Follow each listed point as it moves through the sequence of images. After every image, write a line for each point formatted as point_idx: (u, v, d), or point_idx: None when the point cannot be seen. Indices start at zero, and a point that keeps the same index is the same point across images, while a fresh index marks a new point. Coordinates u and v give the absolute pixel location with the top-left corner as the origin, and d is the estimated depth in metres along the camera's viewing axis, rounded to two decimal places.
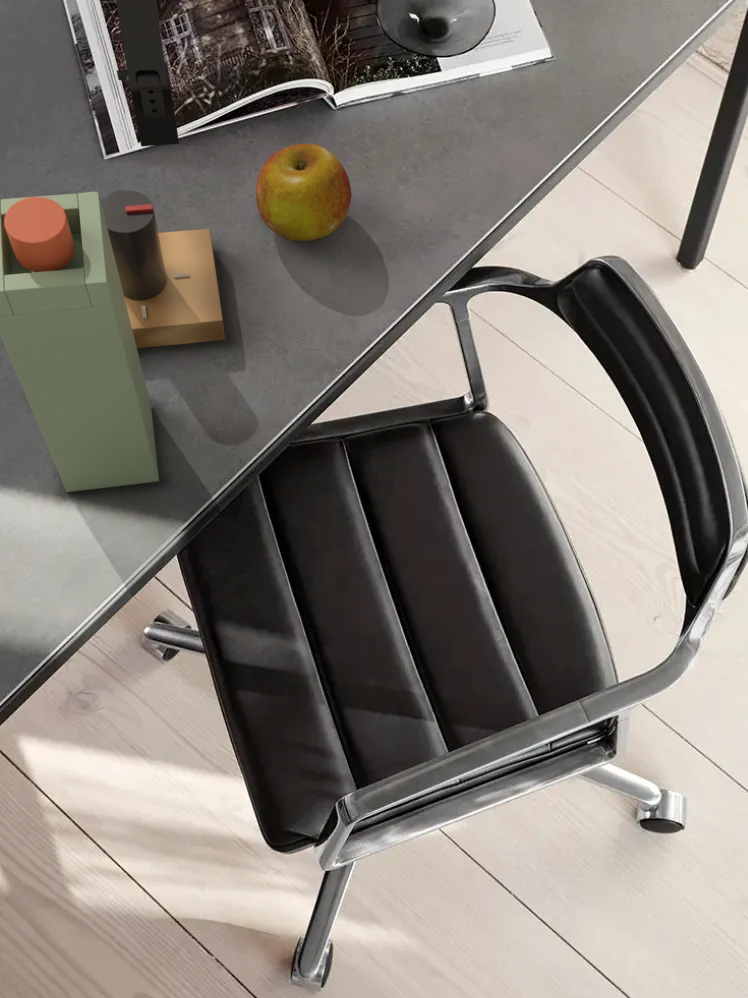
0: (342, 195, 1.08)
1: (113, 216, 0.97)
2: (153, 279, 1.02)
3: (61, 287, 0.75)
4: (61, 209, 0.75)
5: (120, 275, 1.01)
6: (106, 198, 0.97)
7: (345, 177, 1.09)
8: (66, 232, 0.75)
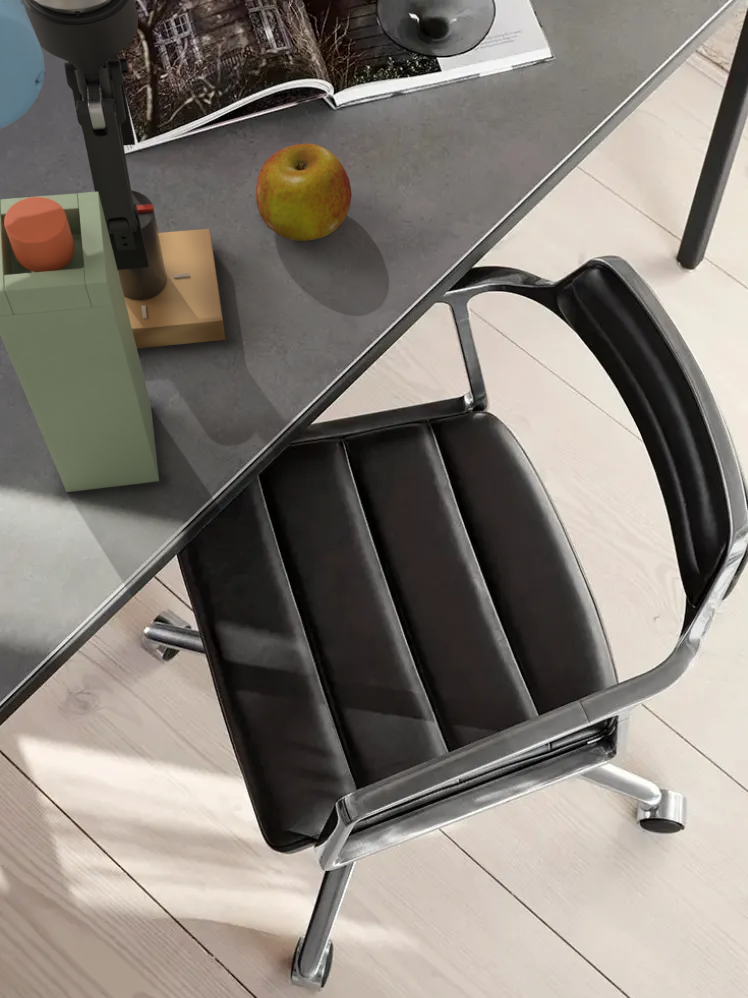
0: (342, 195, 1.08)
1: None
2: (153, 279, 1.02)
3: (61, 287, 0.75)
4: (61, 209, 0.75)
5: (120, 275, 1.01)
6: None
7: (345, 177, 1.09)
8: (66, 232, 0.75)
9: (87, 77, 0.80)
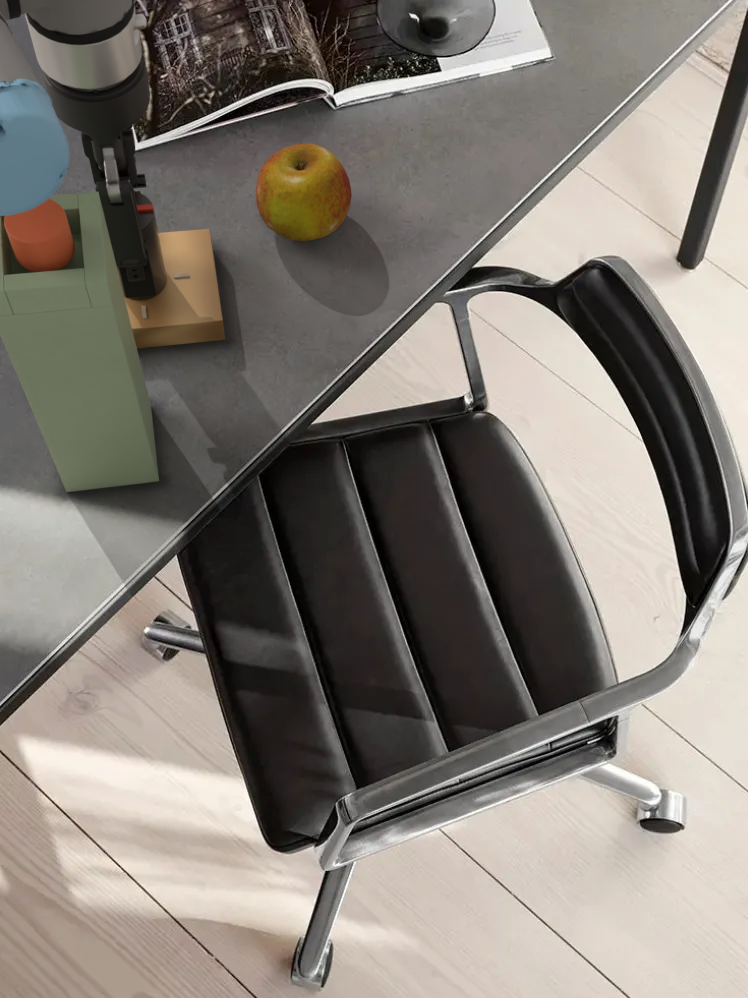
0: (342, 195, 1.08)
1: None
2: None
3: (61, 287, 0.75)
4: (61, 209, 0.75)
5: (120, 275, 1.01)
6: None
7: (345, 177, 1.09)
8: (66, 232, 0.75)
9: (102, 147, 0.86)
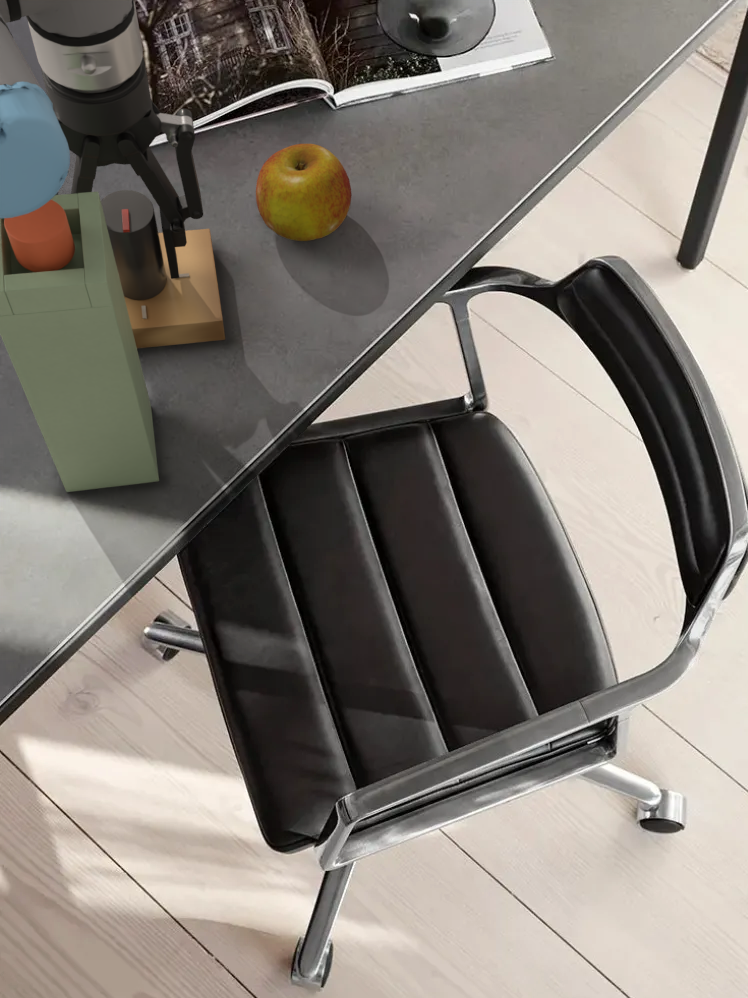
0: (342, 195, 1.08)
1: (118, 202, 0.97)
2: None
3: (61, 287, 0.75)
4: (61, 209, 0.75)
5: None
6: (143, 196, 0.98)
7: (345, 177, 1.09)
8: (66, 232, 0.75)
9: None
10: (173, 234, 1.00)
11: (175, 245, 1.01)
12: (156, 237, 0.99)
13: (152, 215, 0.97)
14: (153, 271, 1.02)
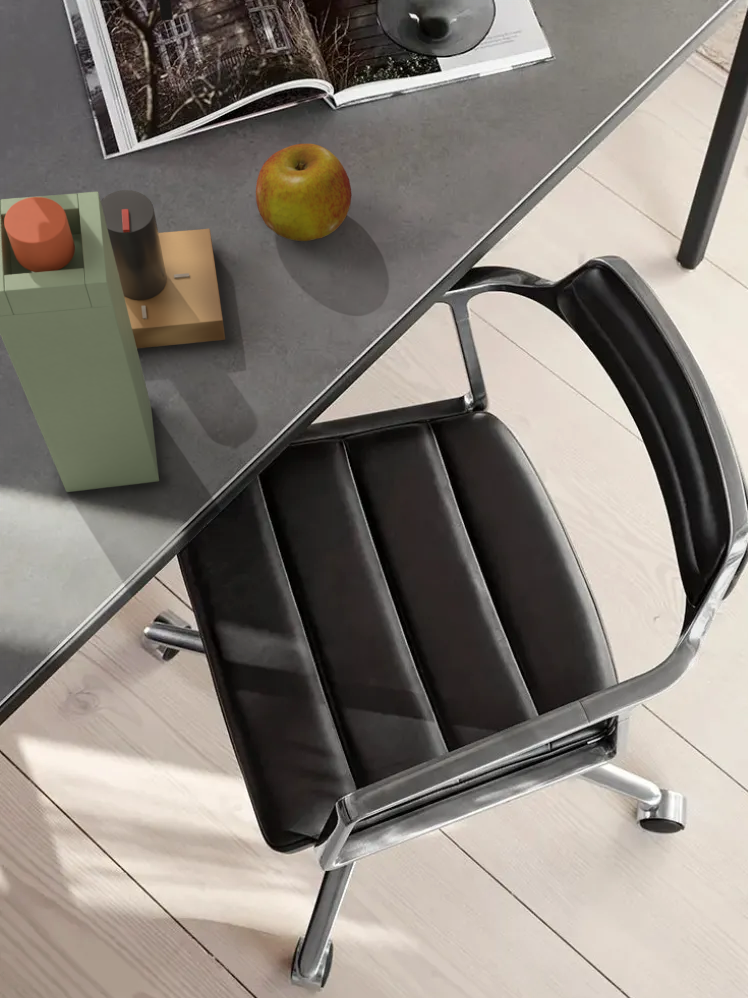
0: (342, 195, 1.08)
1: (118, 202, 0.97)
2: None
3: (61, 287, 0.75)
4: (61, 209, 0.75)
5: None
6: (143, 196, 0.98)
7: (345, 177, 1.09)
8: (66, 232, 0.75)
9: None
10: None
11: None
12: (156, 237, 0.99)
13: (152, 215, 0.97)
14: (153, 271, 1.02)
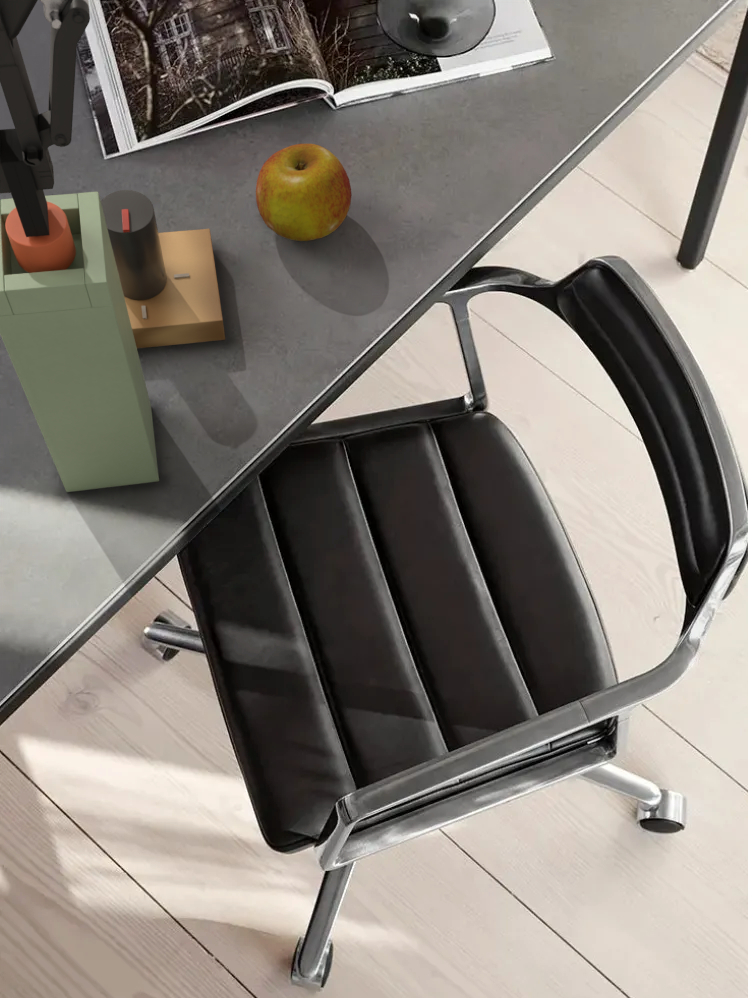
0: (342, 195, 1.08)
1: (118, 202, 0.97)
2: None
3: (61, 287, 0.75)
4: (62, 212, 0.75)
5: None
6: (143, 196, 0.98)
7: (345, 177, 1.09)
8: (67, 236, 0.75)
9: None
10: (32, 170, 0.70)
11: (38, 187, 0.71)
12: (156, 237, 0.99)
13: (152, 215, 0.97)
14: (153, 271, 1.02)
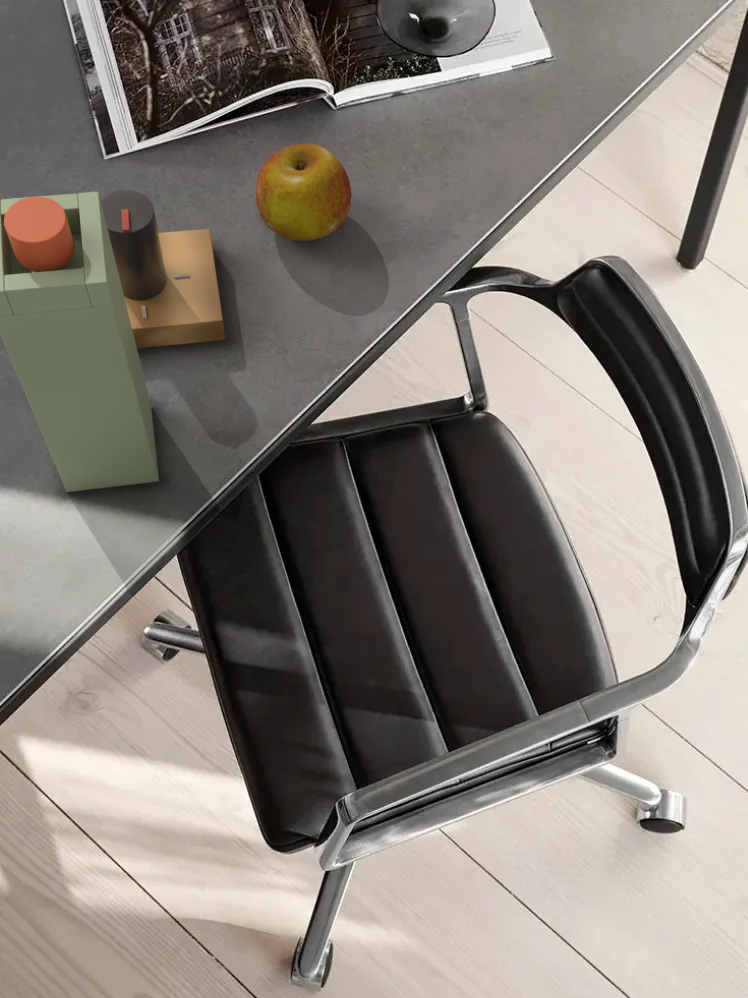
0: (342, 195, 1.08)
1: (118, 202, 0.97)
2: None
3: (61, 287, 0.75)
4: (61, 209, 0.75)
5: None
6: (143, 196, 0.98)
7: (345, 177, 1.09)
8: (66, 232, 0.75)
9: None
10: None
11: None
12: (156, 237, 0.99)
13: (152, 215, 0.97)
14: (153, 271, 1.02)
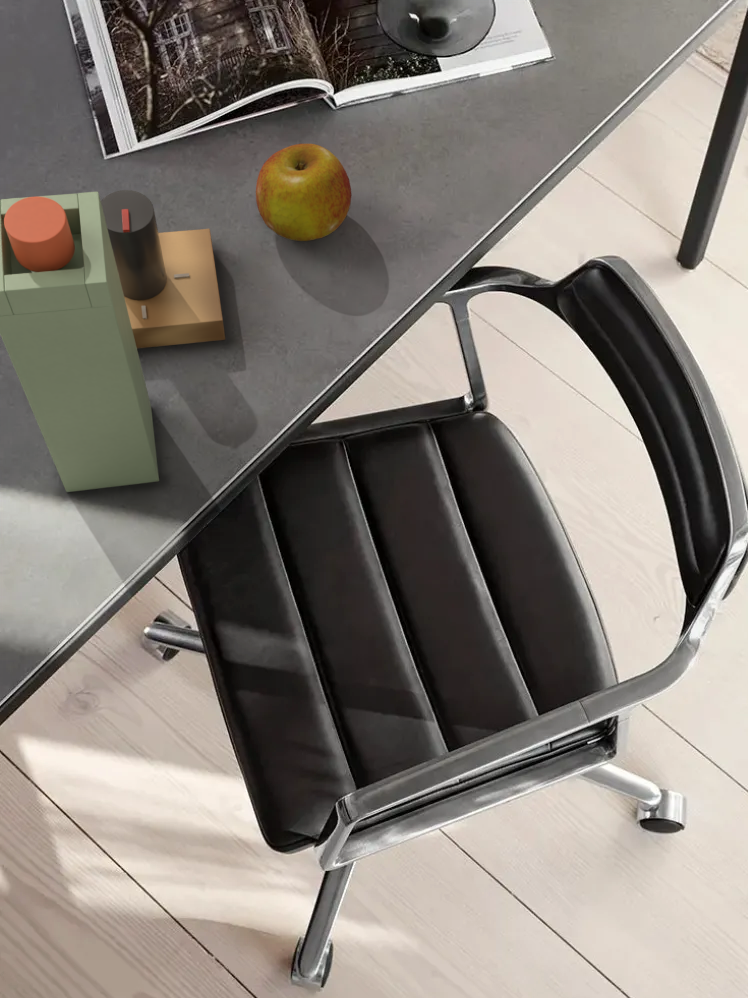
0: (342, 195, 1.08)
1: (118, 202, 0.97)
2: None
3: (61, 287, 0.75)
4: (61, 209, 0.75)
5: None
6: (143, 196, 0.98)
7: (345, 177, 1.09)
8: (66, 232, 0.75)
9: None
10: None
11: None
12: (156, 237, 0.99)
13: (152, 215, 0.97)
14: (153, 271, 1.02)
